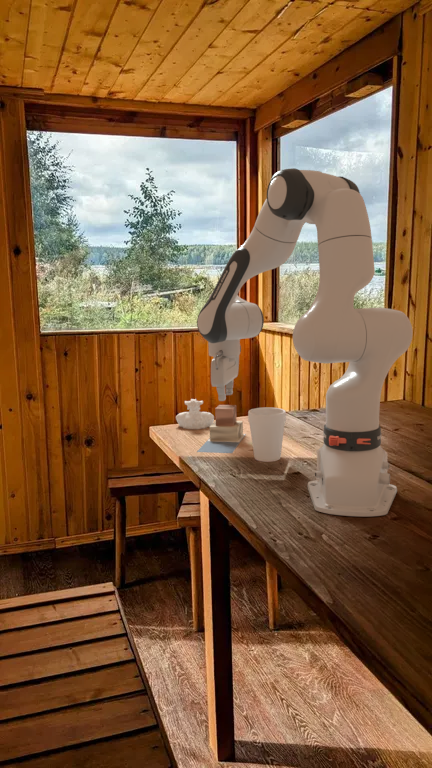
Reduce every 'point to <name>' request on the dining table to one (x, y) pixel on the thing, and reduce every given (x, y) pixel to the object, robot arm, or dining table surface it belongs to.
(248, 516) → the dining table surface
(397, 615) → the dining table surface
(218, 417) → the terracotta block
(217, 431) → the birch slab
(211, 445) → the board
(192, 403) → the white figurine
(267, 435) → the foam cup
